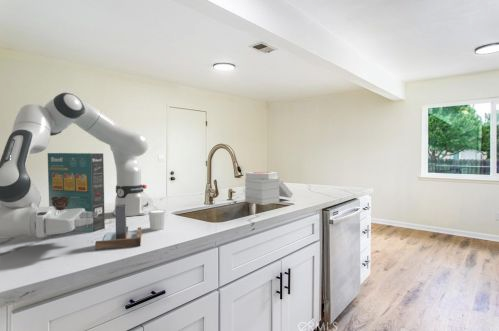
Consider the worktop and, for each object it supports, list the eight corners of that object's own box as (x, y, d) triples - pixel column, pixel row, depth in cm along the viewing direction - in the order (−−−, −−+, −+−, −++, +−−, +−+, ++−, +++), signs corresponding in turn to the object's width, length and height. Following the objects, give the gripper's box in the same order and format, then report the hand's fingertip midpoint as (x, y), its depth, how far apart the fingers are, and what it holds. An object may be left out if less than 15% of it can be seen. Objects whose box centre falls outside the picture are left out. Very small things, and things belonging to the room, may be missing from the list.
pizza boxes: (295, 200, 189) (295, 172, 188) (261, 206, 169) (262, 174, 168) (273, 196, 203) (273, 170, 203) (239, 201, 183) (240, 172, 182)
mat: (106, 233, 111) (106, 232, 111) (141, 230, 115) (141, 229, 115) (98, 249, 93) (98, 248, 93) (140, 245, 97) (140, 244, 97)
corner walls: (102, 237, 107) (102, 230, 107) (141, 234, 111) (141, 227, 111) (95, 250, 93) (95, 242, 93) (140, 245, 97) (140, 238, 97)
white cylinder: (161, 225, 124) (161, 208, 124) (169, 228, 119) (169, 211, 119) (145, 228, 119) (145, 211, 119) (153, 231, 114) (153, 213, 114)
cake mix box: (104, 228, 119) (103, 153, 118) (92, 232, 113) (90, 153, 112) (63, 223, 126) (61, 153, 124) (49, 227, 120) (47, 153, 118)
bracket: (125, 241, 100) (125, 206, 99) (115, 242, 99) (115, 206, 98) (128, 231, 112) (127, 200, 112) (119, 232, 111) (118, 200, 111)
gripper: (56, 223, 103) (100, 220, 108) (35, 239, 84) (90, 234, 88) (55, 205, 103) (99, 202, 108) (34, 217, 84) (89, 213, 88)
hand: (95, 217), depth 98 cm, fingers open, 8 cm apart
